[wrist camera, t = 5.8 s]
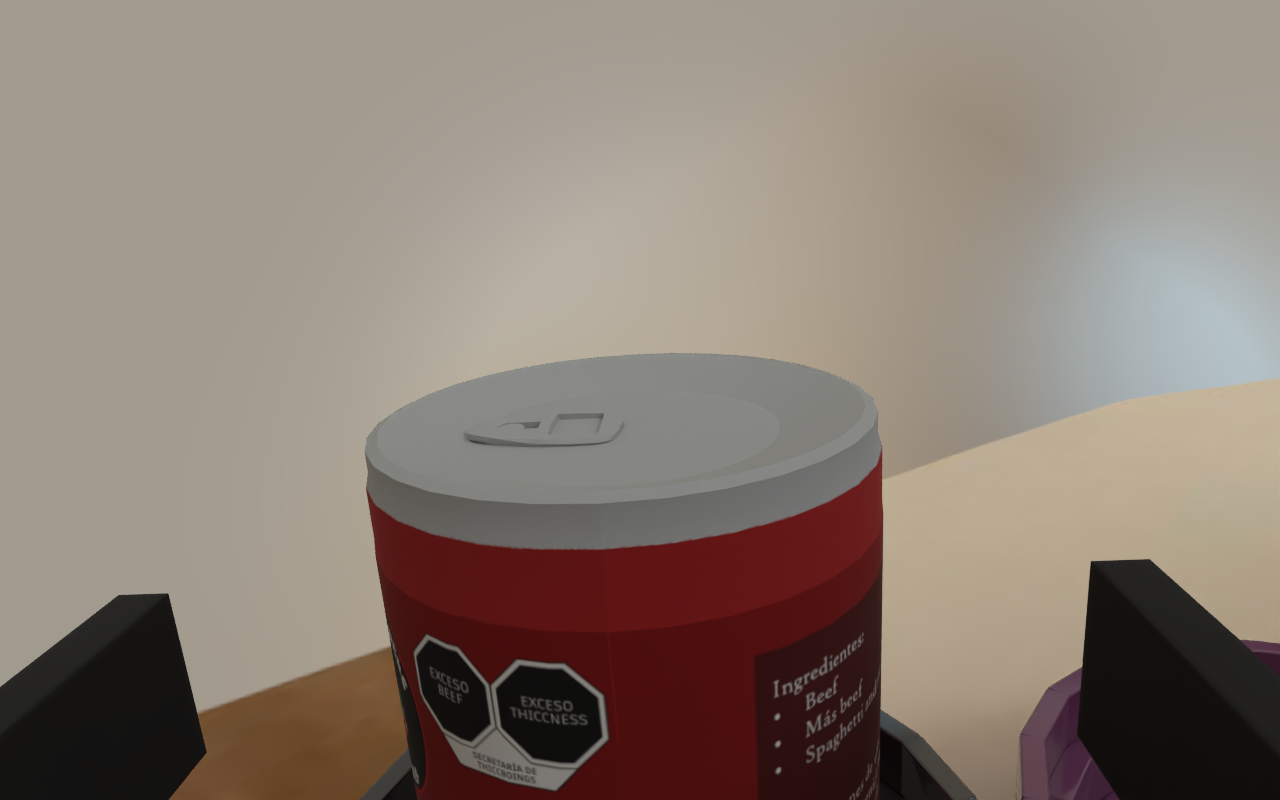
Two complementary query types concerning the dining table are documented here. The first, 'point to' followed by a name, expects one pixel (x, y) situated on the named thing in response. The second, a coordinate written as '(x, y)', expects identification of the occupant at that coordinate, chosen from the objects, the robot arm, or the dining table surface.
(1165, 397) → the dining table surface
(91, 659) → the robot arm
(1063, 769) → the plum bowl
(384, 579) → the canned food
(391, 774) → the dark bowl
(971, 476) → the dining table surface
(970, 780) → the dining table surface
